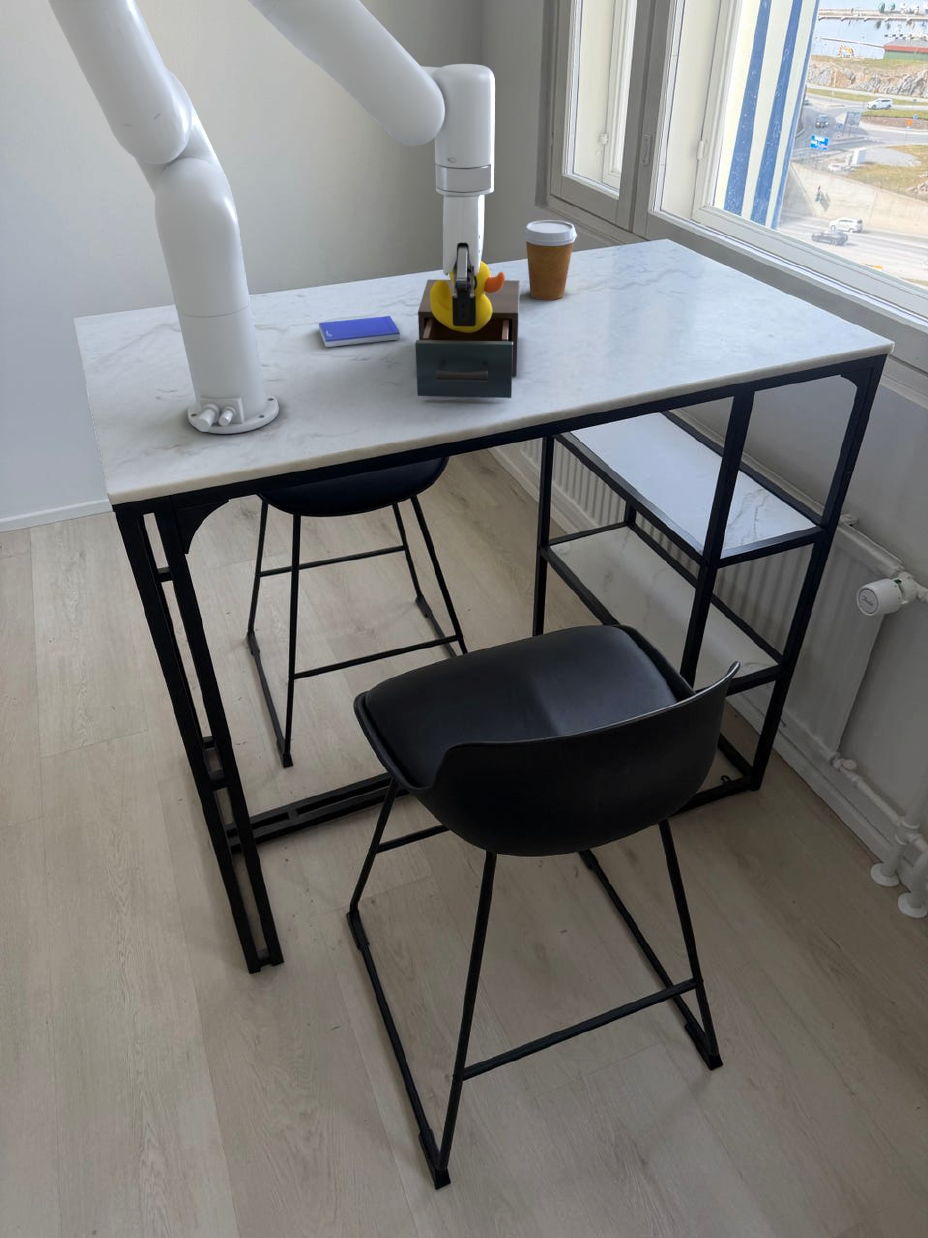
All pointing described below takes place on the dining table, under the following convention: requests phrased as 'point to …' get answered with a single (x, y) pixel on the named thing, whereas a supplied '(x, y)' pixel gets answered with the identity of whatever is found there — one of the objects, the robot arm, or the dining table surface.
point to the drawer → (465, 361)
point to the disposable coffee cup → (549, 257)
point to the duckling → (482, 284)
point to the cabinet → (502, 308)
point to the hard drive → (358, 331)
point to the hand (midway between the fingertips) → (465, 315)
